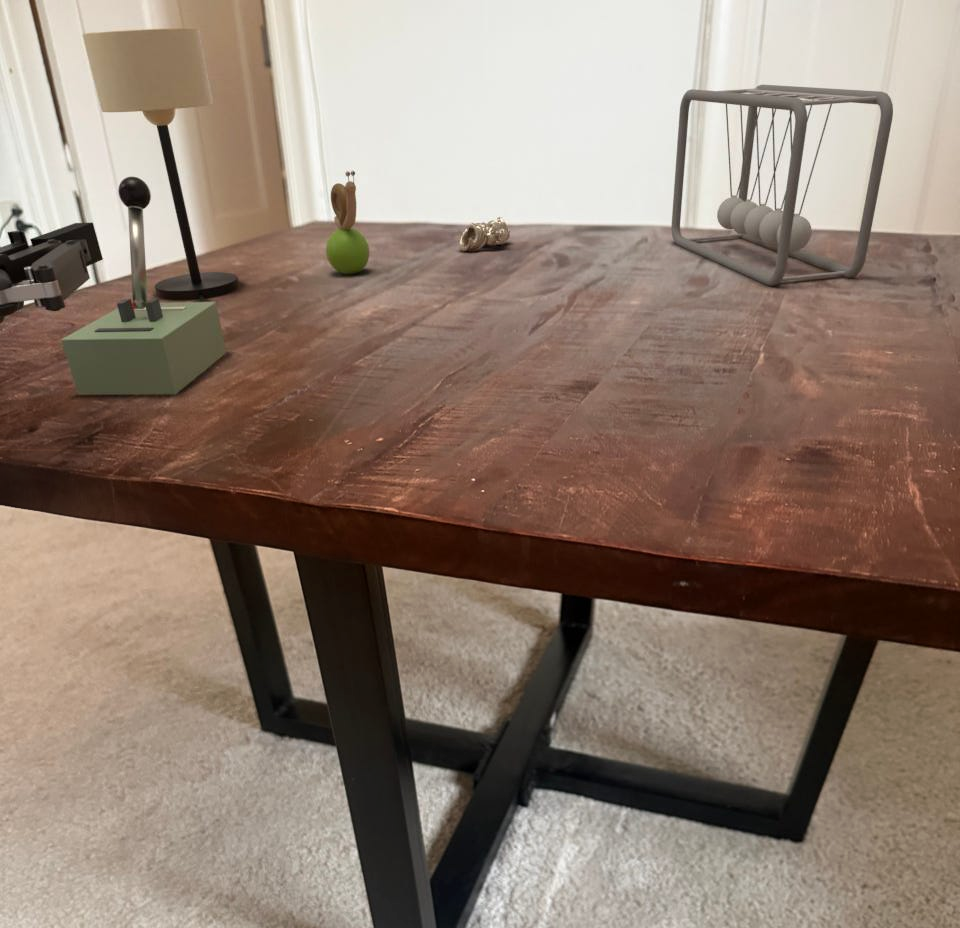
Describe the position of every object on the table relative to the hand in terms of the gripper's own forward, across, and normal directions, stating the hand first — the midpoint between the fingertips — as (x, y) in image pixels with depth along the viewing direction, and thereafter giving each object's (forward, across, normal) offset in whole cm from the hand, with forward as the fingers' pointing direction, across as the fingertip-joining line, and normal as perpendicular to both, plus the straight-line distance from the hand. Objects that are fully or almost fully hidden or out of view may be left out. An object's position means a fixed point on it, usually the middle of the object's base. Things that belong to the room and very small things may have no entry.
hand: (89, 241), depth 69 cm
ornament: (+59, +24, -12) cm, 65 cm away
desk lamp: (+34, -7, -12) cm, 37 cm away
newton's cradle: (+48, +59, -12) cm, 77 cm away
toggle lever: (+5, 0, -6) cm, 8 cm away
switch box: (+5, 0, -12) cm, 13 cm away
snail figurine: (+45, +9, -12) cm, 48 cm away
